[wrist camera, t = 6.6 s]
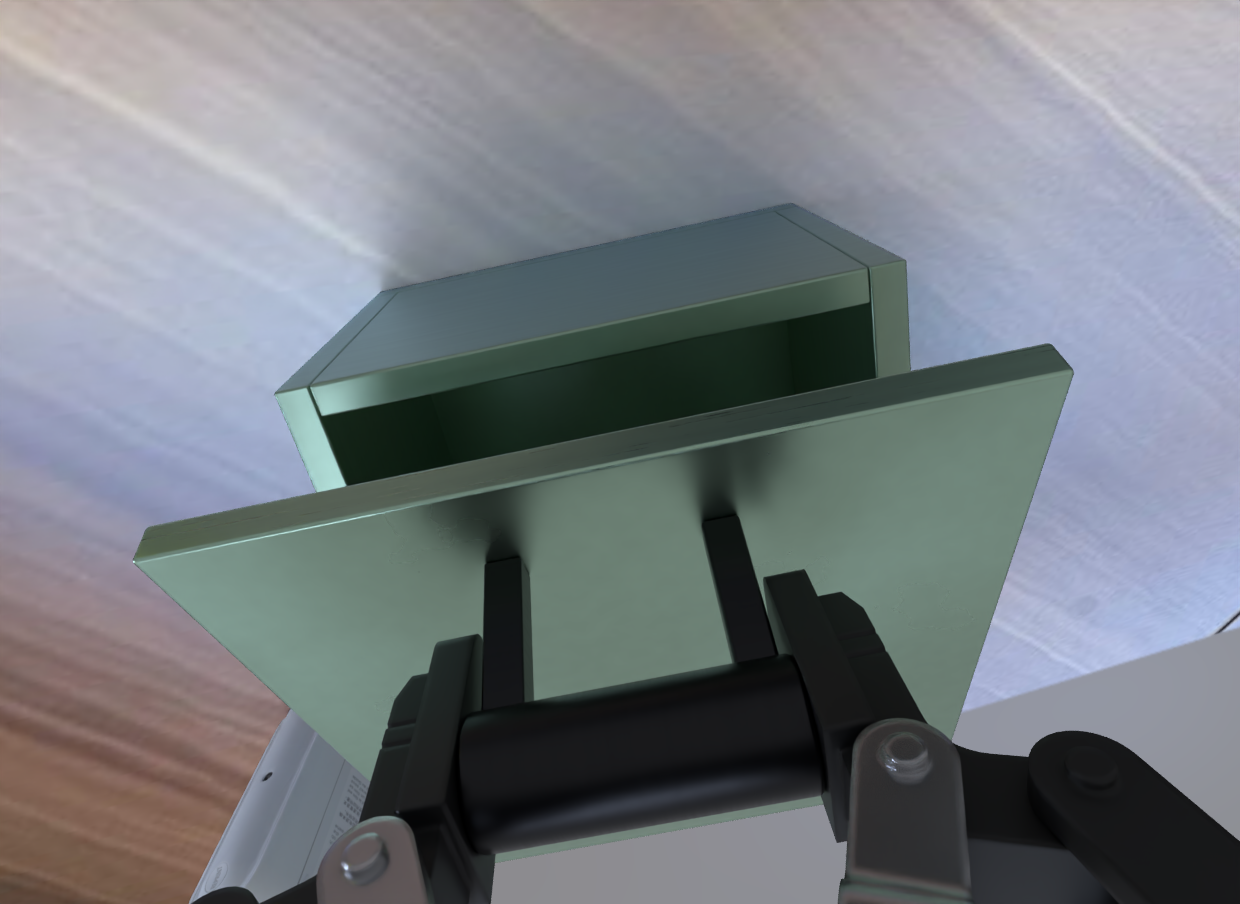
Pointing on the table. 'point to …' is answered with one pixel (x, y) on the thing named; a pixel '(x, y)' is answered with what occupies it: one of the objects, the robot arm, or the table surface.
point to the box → (598, 344)
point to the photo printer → (286, 815)
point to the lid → (638, 592)
